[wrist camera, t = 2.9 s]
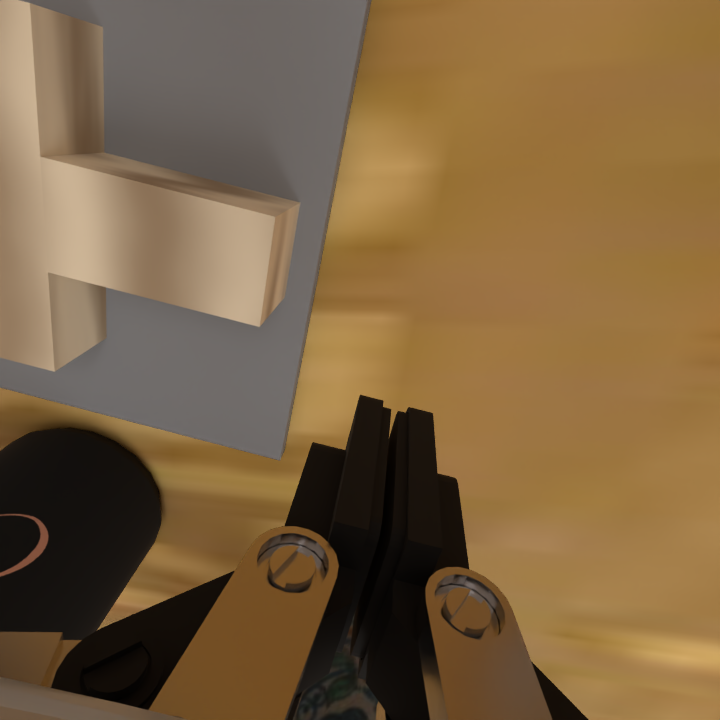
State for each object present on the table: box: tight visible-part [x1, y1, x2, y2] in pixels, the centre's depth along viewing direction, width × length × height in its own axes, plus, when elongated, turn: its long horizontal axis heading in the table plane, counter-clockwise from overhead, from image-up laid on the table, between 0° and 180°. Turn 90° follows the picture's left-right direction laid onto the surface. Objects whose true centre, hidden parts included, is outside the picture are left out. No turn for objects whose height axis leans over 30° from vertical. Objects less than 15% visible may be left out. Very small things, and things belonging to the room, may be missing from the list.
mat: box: [0, 0, 371, 460], centre depth 22 cm, size 26×24×3 cm
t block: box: [0, 0, 300, 372], centre depth 21 cm, size 14×14×4 cm
